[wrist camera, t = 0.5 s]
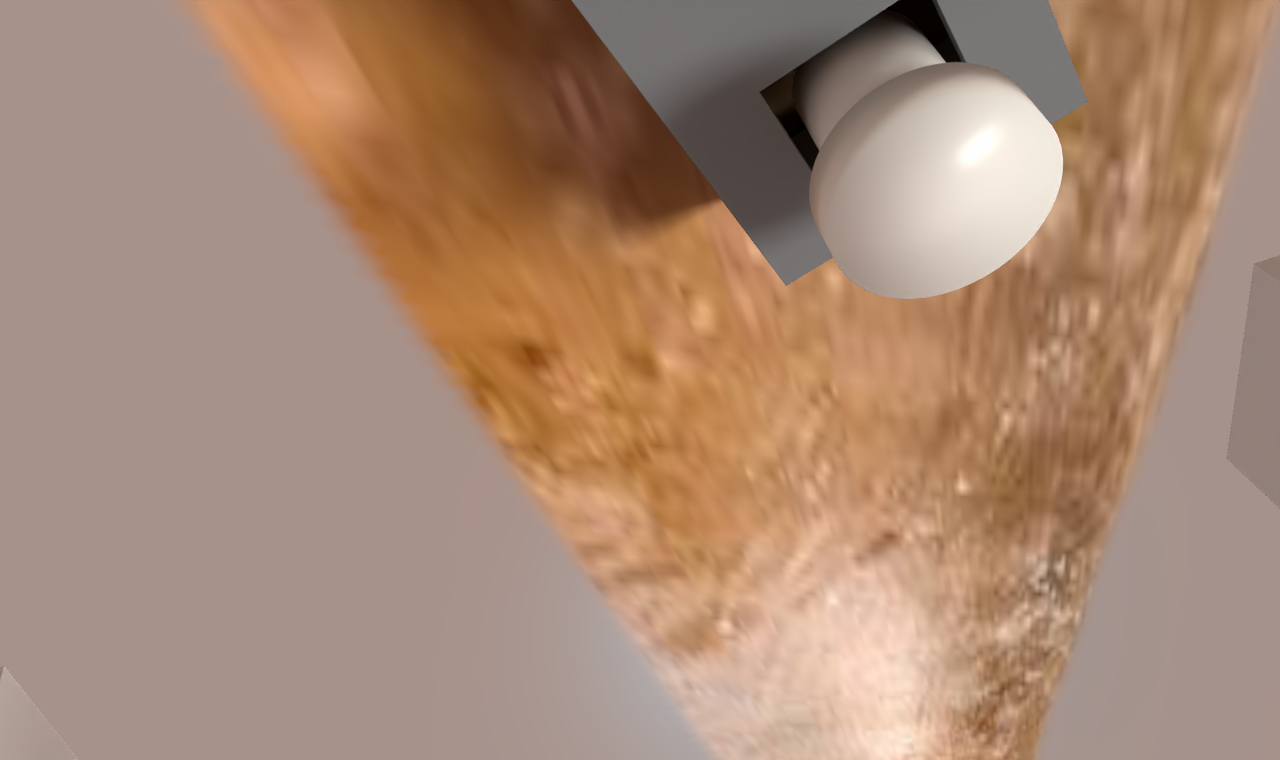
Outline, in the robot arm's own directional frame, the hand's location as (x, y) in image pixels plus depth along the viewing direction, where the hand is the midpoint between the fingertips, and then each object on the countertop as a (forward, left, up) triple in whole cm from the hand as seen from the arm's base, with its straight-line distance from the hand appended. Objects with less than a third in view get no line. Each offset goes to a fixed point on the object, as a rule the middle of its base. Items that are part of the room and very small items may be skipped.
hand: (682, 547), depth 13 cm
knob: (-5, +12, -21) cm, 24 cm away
